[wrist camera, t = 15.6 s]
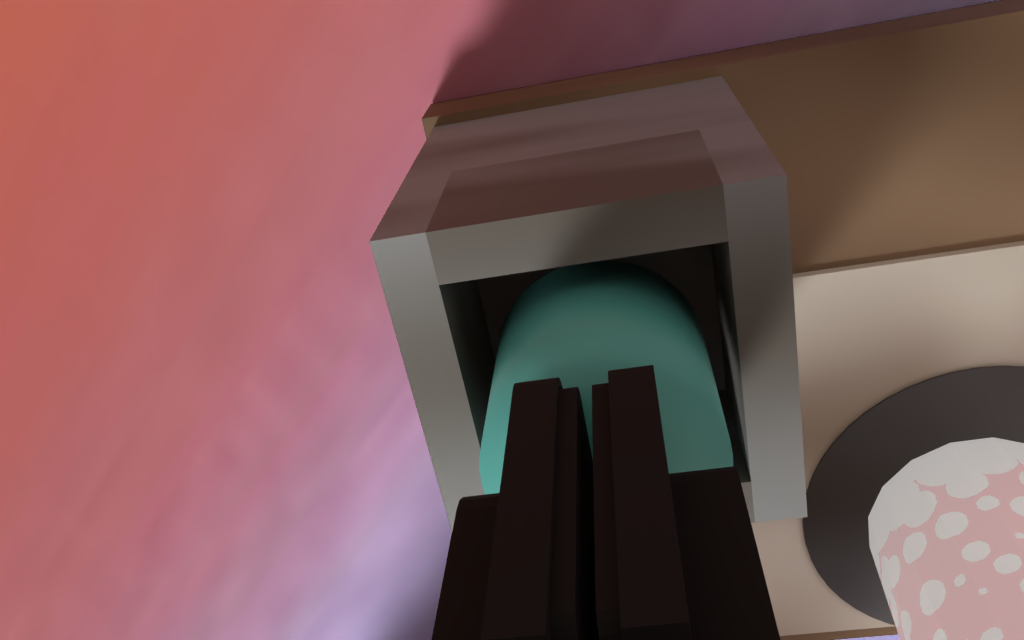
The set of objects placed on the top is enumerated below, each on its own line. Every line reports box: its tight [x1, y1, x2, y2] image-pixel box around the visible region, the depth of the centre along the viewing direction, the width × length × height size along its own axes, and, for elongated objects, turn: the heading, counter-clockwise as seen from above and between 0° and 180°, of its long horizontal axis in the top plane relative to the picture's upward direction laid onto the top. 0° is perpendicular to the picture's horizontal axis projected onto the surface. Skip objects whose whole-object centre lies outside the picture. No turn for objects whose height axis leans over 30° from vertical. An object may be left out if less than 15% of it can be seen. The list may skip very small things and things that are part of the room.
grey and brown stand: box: [369, 0, 1024, 640], centre depth 18 cm, size 15×16×7 cm
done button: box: [479, 260, 733, 494], centre depth 13 cm, size 3×3×3 cm
